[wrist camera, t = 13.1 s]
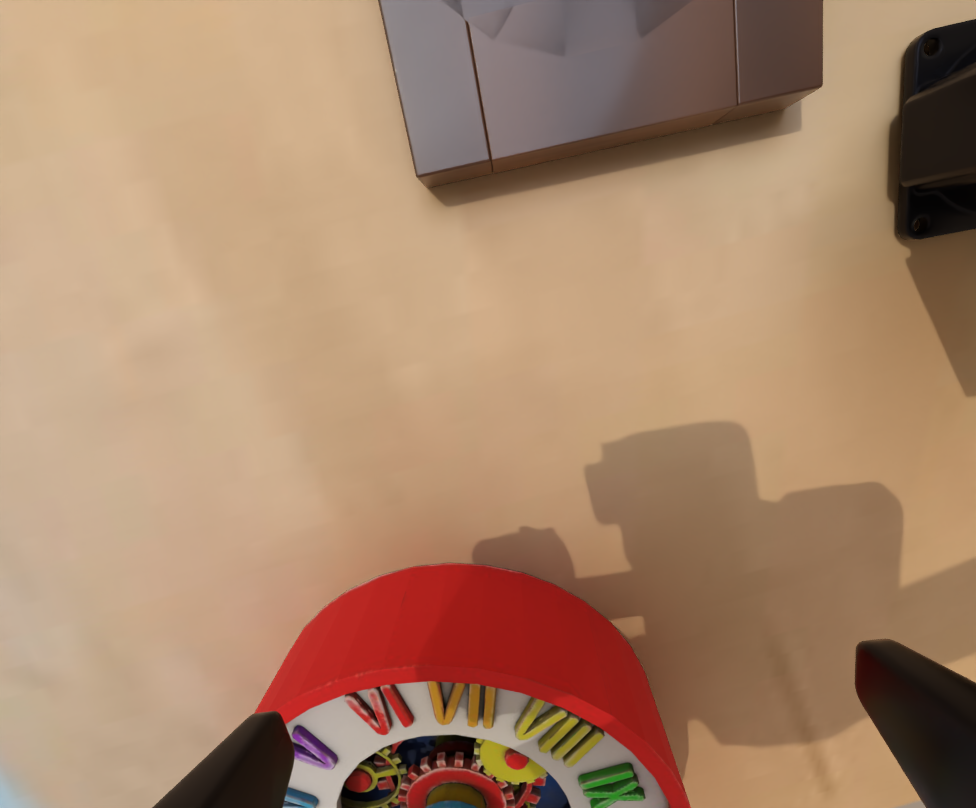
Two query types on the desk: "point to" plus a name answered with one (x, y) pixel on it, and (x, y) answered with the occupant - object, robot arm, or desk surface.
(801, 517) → the desk surface
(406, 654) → the toy clock
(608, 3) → the holder
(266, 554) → the desk surface
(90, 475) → the desk surface
